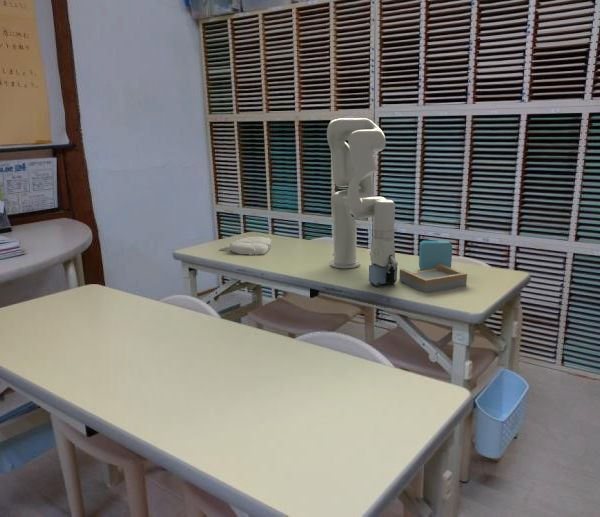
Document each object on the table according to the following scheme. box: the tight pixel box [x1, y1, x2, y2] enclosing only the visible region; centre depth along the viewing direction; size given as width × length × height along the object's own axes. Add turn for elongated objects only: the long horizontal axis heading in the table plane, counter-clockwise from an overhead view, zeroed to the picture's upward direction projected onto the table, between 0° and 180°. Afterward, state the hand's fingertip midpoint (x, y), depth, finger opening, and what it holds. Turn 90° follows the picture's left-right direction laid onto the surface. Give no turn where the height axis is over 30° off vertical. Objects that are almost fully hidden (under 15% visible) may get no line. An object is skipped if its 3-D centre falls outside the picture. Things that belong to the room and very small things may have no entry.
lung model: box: [218, 236, 272, 256], centre depth 240 cm, size 7×17×25 cm
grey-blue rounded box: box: [368, 264, 398, 288], centre depth 184 cm, size 6×9×7 cm, turn 113°
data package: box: [418, 240, 453, 271], centre depth 199 cm, size 12×4×12 cm, turn 85°
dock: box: [399, 263, 468, 294], centre depth 184 cm, size 16×18×4 cm
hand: (382, 279), depth 184 cm, fingers open, 9 cm apart
